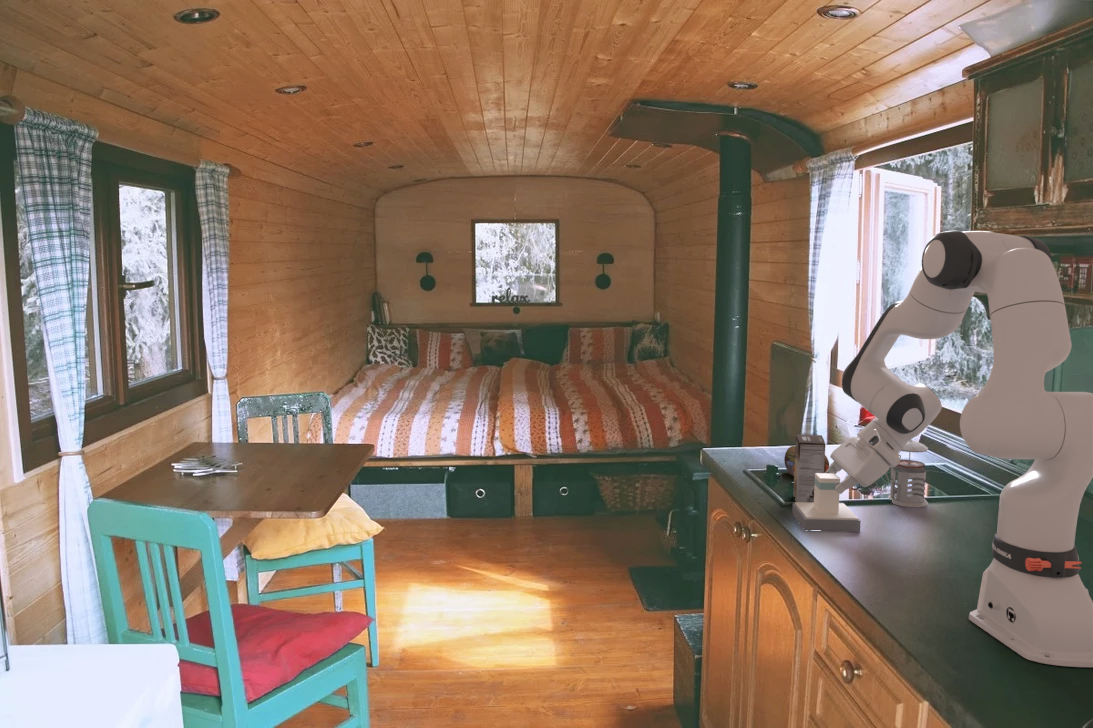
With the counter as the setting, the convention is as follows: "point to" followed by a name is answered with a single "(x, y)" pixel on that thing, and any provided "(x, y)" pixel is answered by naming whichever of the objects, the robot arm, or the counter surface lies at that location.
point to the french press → (909, 471)
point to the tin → (790, 461)
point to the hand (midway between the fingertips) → (830, 485)
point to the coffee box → (807, 465)
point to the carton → (826, 493)
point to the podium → (825, 518)
